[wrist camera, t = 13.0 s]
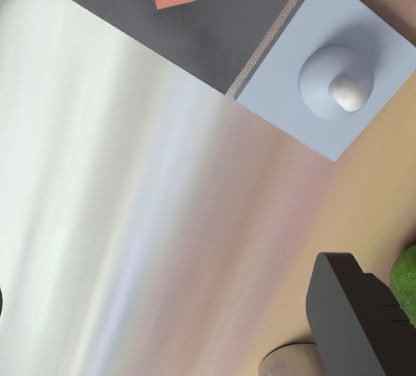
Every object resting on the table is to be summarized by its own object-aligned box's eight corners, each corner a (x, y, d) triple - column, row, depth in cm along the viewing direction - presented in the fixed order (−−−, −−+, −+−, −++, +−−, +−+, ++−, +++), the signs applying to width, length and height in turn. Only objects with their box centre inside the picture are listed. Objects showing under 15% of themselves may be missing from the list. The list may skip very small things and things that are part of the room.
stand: (419, 53, 29) (466, 73, 25) (330, 156, 33) (355, 191, 29) (319, -30, 26) (351, -25, 21) (233, 96, 30) (244, 124, 25)
